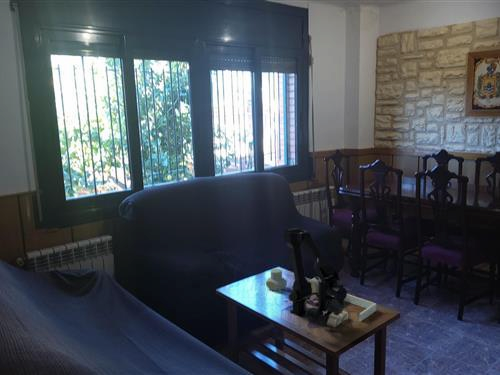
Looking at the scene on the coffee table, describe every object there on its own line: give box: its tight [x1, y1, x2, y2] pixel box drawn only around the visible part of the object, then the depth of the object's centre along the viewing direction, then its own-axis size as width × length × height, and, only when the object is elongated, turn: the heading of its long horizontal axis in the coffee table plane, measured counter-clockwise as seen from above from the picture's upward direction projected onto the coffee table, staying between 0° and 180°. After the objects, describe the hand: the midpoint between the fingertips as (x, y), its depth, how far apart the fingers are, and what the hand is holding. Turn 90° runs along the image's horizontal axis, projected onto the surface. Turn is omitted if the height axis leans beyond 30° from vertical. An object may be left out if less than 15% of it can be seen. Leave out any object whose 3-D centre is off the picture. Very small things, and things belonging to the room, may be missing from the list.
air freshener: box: [265, 268, 288, 292], centre depth 223 cm, size 11×8×10 cm
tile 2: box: [331, 310, 349, 323], centre depth 191 cm, size 5×5×3 cm
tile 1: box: [326, 313, 342, 328], centre depth 187 cm, size 5×5×3 cm
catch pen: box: [344, 293, 377, 322], centre depth 199 cm, size 14×17×4 cm
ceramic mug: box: [308, 276, 319, 294], centre depth 218 cm, size 11×8×8 cm
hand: (324, 326), depth 183 cm, fingers closed
